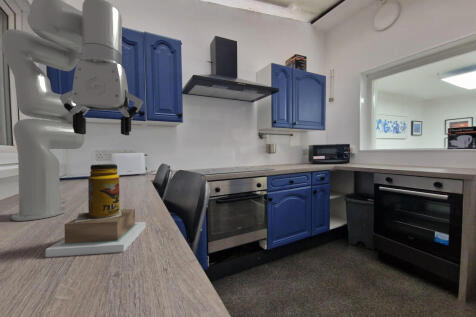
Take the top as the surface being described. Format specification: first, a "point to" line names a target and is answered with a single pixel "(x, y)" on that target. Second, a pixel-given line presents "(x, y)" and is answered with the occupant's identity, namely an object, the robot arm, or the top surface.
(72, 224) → the base block
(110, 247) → the build board
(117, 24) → the robot arm
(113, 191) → the condiment
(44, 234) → the top surface
